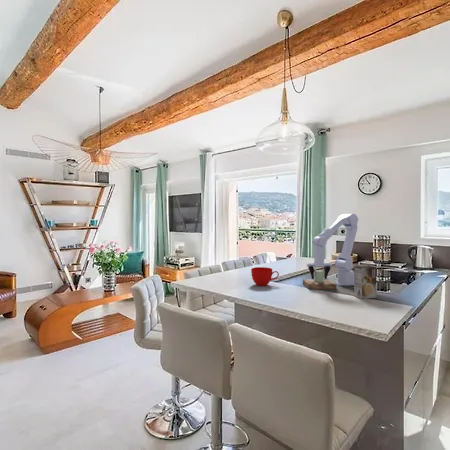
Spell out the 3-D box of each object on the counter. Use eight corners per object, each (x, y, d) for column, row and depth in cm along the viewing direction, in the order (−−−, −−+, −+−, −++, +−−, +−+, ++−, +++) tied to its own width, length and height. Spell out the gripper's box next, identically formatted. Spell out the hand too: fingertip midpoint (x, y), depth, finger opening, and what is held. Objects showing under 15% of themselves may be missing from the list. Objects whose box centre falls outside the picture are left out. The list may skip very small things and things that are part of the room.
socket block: (328, 284, 195) (328, 279, 195) (336, 289, 181) (336, 284, 181) (302, 284, 195) (302, 279, 195) (308, 289, 181) (308, 284, 181)
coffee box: (368, 294, 168) (368, 265, 168) (376, 297, 162) (377, 267, 162) (353, 296, 166) (353, 266, 165) (361, 299, 160) (362, 267, 159)
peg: (321, 285, 190) (321, 270, 189) (323, 286, 186) (323, 271, 185) (314, 285, 190) (315, 270, 189) (316, 286, 186) (316, 271, 185)
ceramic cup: (278, 288, 185) (278, 271, 185) (250, 286, 188) (250, 270, 188) (279, 283, 198) (279, 267, 197) (252, 282, 201) (252, 266, 201)
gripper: (308, 257, 183) (308, 280, 184) (333, 257, 183) (333, 280, 184) (305, 255, 190) (305, 277, 191) (329, 255, 190) (329, 277, 191)
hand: (319, 278), depth 188 cm, fingers open, 7 cm apart
